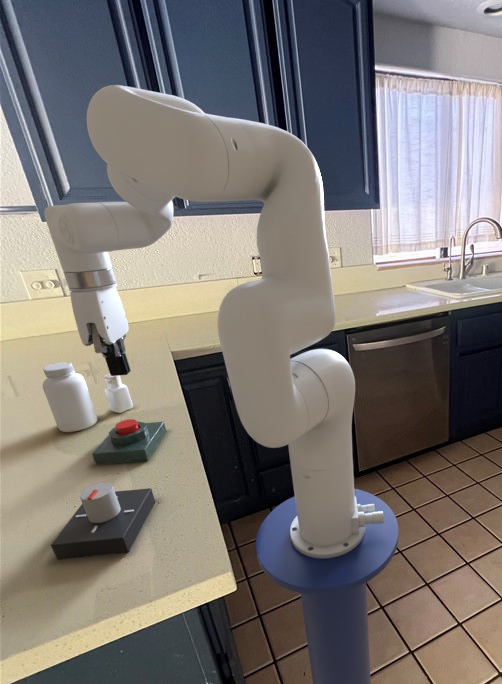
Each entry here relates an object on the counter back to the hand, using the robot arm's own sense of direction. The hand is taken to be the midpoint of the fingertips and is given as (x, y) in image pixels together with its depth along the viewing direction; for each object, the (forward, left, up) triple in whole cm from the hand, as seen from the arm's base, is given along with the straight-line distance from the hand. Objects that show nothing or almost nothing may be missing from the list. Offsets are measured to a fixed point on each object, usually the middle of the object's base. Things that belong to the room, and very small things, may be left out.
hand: (121, 373), depth 85 cm
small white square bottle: (+12, -20, -17) cm, 29 cm away
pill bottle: (+19, -13, -17) cm, 29 cm away
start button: (+2, 0, -13) cm, 13 cm away
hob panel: (-4, +26, -17) cm, 31 cm away
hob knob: (-4, +26, -14) cm, 30 cm away
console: (+2, 0, -17) cm, 17 cm away
